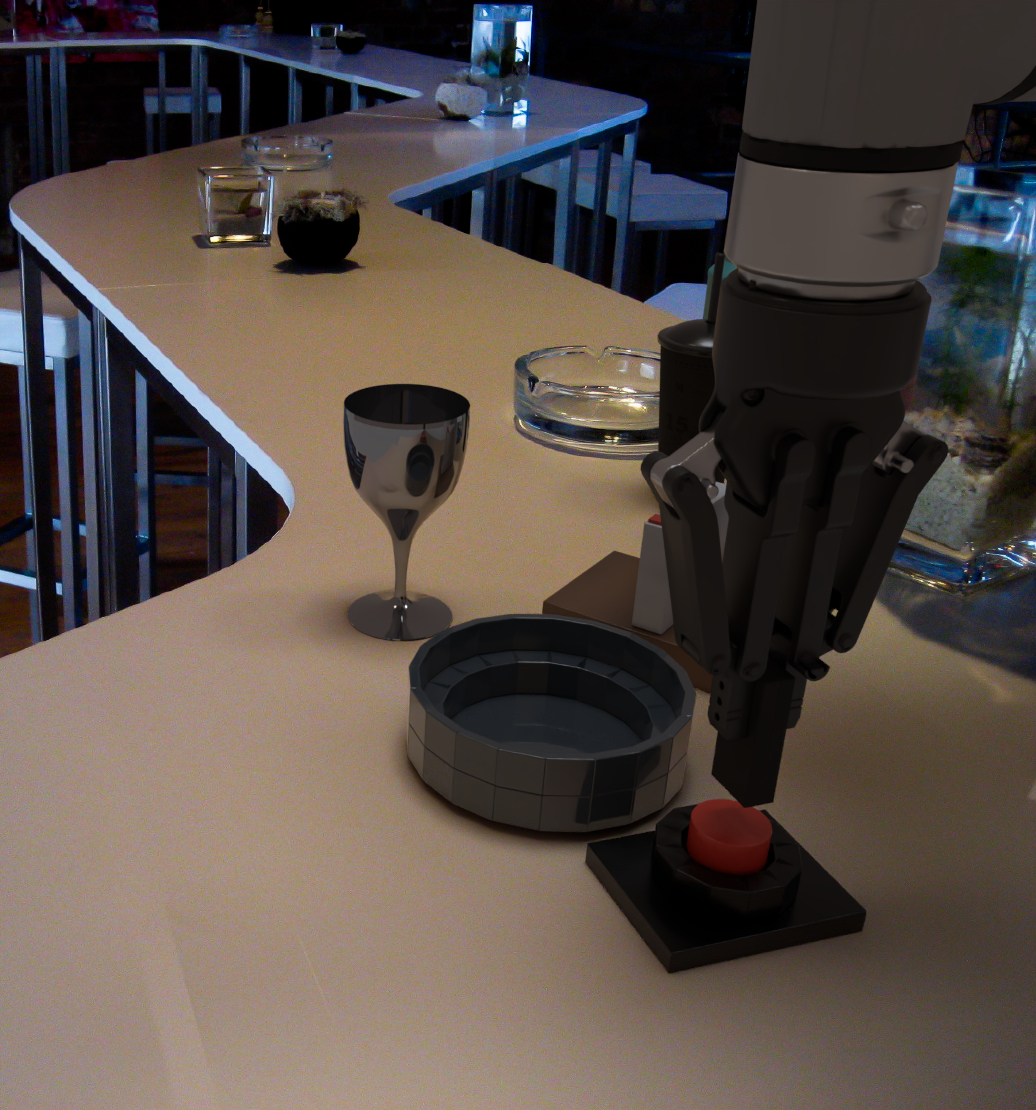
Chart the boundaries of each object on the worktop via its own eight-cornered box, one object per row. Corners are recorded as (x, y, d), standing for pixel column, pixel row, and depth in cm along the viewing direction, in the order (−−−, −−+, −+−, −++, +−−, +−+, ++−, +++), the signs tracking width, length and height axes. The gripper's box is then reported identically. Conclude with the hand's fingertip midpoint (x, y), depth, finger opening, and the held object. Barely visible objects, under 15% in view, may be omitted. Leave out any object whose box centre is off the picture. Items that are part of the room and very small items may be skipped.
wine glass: (394, 577, 93) (400, 375, 86) (482, 614, 88) (496, 403, 81) (316, 614, 88) (316, 403, 81) (405, 656, 83) (413, 434, 76)
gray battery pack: (692, 575, 87) (706, 475, 84) (721, 584, 86) (736, 482, 83) (631, 625, 81) (644, 519, 78) (661, 635, 80) (675, 527, 77)
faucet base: (807, 642, 84) (814, 608, 83) (747, 706, 77) (753, 670, 76) (610, 581, 92) (614, 549, 91) (539, 634, 85) (542, 600, 84)
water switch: (761, 828, 67) (770, 779, 65) (863, 931, 60) (875, 879, 58) (584, 862, 64) (590, 812, 63) (668, 974, 57) (677, 921, 56)
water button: (738, 822, 63) (743, 793, 62) (782, 869, 60) (788, 838, 59) (671, 835, 62) (676, 805, 61) (713, 883, 59) (718, 852, 58)
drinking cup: (659, 476, 110) (689, 238, 101) (749, 496, 106) (788, 251, 97) (623, 505, 104) (651, 256, 96) (717, 528, 100) (755, 270, 92)
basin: (601, 670, 81) (609, 599, 79) (739, 813, 68) (753, 732, 66) (370, 706, 77) (371, 632, 75) (468, 864, 64) (473, 780, 62)
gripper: (729, 313, 44) (655, 865, 54) (1044, 283, 47) (919, 811, 58) (622, 265, 51) (574, 766, 61) (905, 242, 54) (814, 722, 64)
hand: (741, 787), depth 59 cm, fingers closed
